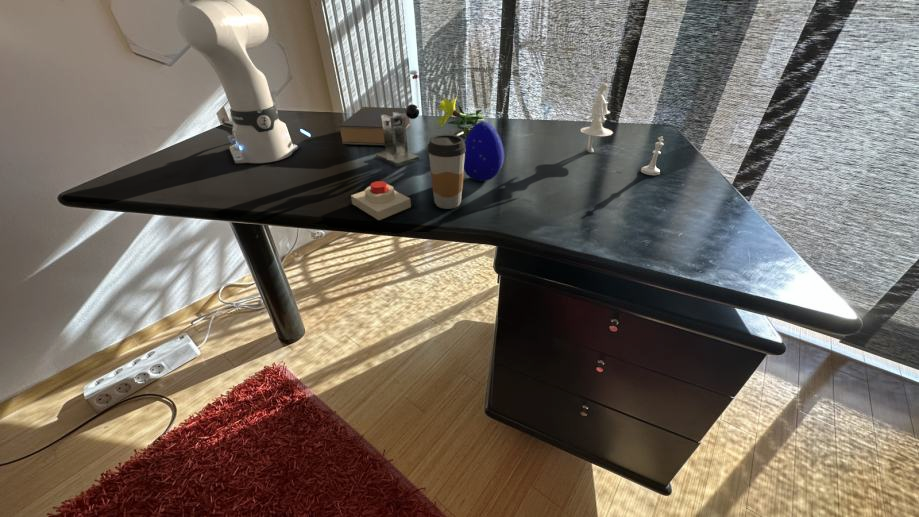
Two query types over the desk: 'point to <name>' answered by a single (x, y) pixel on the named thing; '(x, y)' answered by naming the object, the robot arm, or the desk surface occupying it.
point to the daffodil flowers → (466, 118)
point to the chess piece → (653, 160)
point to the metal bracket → (395, 143)
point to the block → (381, 202)
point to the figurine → (597, 118)
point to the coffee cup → (447, 169)
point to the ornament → (483, 152)
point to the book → (367, 126)
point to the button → (378, 187)
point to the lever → (407, 114)
